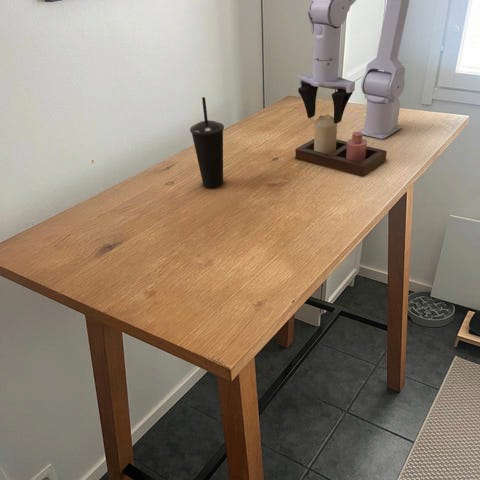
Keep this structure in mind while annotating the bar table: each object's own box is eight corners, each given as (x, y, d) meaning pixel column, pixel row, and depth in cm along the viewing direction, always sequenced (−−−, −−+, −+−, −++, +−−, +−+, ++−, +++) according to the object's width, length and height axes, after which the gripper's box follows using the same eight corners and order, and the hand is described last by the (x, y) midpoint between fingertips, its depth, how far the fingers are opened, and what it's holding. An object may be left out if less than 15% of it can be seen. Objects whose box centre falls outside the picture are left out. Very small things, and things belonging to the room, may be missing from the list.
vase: (352, 158, 127) (354, 128, 123) (369, 162, 125) (371, 132, 120) (341, 165, 125) (343, 134, 120) (358, 169, 122) (361, 138, 117)
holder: (319, 145, 136) (319, 135, 134) (385, 160, 125) (387, 150, 123) (295, 158, 130) (295, 148, 128) (362, 176, 119) (363, 166, 117)
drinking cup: (225, 191, 118) (216, 103, 105) (193, 191, 120) (181, 103, 107) (232, 177, 124) (224, 92, 111) (202, 177, 125) (191, 92, 113)
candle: (310, 158, 129) (311, 119, 123) (318, 150, 133) (319, 111, 126) (331, 161, 127) (333, 121, 120) (338, 153, 130) (340, 113, 124)
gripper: (289, 58, 114) (289, 119, 123) (344, 65, 106) (340, 130, 115) (307, 51, 118) (307, 110, 127) (361, 57, 110) (357, 120, 119)
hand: (324, 119), depth 121 cm, fingers open, 7 cm apart
